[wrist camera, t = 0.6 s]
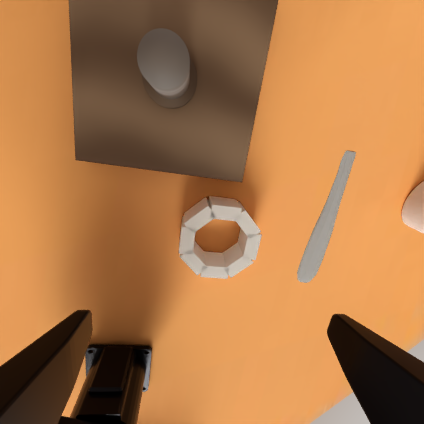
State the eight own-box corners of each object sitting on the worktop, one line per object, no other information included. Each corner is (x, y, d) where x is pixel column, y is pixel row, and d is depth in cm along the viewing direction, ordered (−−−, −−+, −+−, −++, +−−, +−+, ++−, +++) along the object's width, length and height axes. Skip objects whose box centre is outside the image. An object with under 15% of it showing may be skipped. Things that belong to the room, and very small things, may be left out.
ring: (244, 264, 22) (250, 280, 20) (177, 259, 21) (175, 275, 19) (258, 201, 20) (267, 211, 18) (185, 192, 19) (184, 201, 17)
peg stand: (238, 178, 19) (259, 199, 13) (84, 157, 17) (34, 171, 12) (272, 0, 15) (322, -77, 9) (78, -50, 13) (-2, -181, 8)
